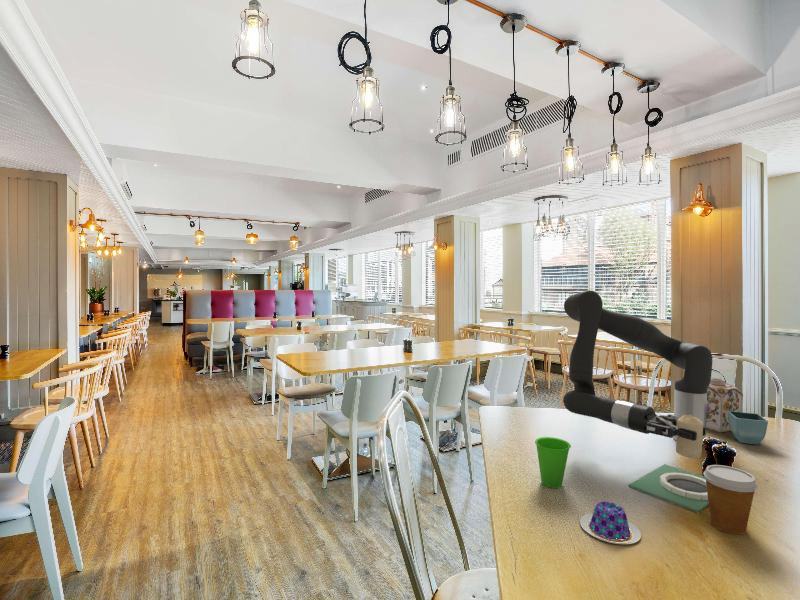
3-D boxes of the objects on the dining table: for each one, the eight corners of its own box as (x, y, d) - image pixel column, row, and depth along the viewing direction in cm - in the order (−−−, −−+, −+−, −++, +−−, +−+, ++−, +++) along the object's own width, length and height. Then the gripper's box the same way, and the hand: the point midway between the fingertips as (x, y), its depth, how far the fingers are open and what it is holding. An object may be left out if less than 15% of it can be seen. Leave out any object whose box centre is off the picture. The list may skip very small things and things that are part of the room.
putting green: (664, 465, 127) (664, 460, 127) (731, 487, 114) (731, 480, 114) (628, 486, 114) (628, 480, 114) (699, 513, 101) (699, 506, 101)
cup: (569, 478, 118) (570, 439, 118) (570, 494, 109) (571, 451, 109) (534, 473, 121) (535, 435, 121) (533, 488, 112) (534, 446, 112)
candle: (705, 459, 109) (707, 420, 108) (681, 457, 110) (683, 418, 109) (695, 450, 114) (697, 413, 114) (672, 448, 115) (674, 411, 115)
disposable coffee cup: (759, 544, 89) (761, 487, 89) (703, 529, 94) (705, 476, 94) (751, 522, 97) (754, 470, 97) (700, 510, 102) (702, 460, 102)
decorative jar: (742, 429, 159) (744, 381, 158) (721, 433, 155) (723, 383, 154) (709, 420, 170) (711, 374, 169) (688, 423, 166) (690, 376, 165)
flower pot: (735, 444, 144) (736, 417, 144) (726, 435, 153) (727, 410, 152) (767, 448, 141) (768, 421, 141) (757, 439, 149) (758, 413, 149)
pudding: (605, 551, 87) (606, 526, 86) (568, 519, 98) (568, 497, 98) (654, 543, 90) (655, 518, 89) (613, 513, 101) (613, 491, 101)
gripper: (620, 407, 119) (690, 424, 105) (645, 399, 127) (712, 414, 114) (619, 434, 119) (689, 455, 106) (643, 424, 128) (710, 442, 114)
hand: (700, 434), depth 110 cm, fingers closed on candle, 5 cm apart
